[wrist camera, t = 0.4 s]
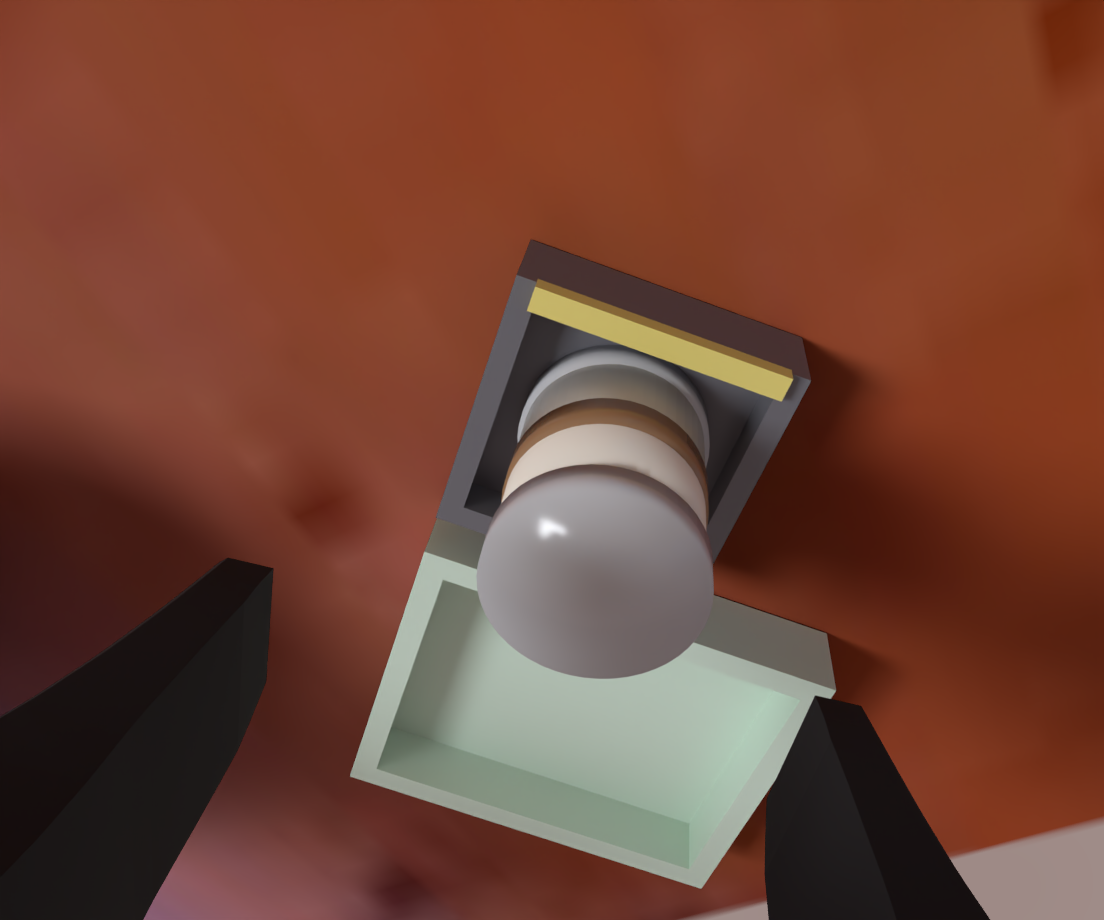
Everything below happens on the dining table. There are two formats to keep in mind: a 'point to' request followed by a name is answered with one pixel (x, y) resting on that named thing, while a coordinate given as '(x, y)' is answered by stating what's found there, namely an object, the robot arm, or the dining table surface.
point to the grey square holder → (645, 325)
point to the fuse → (603, 518)
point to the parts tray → (589, 725)
